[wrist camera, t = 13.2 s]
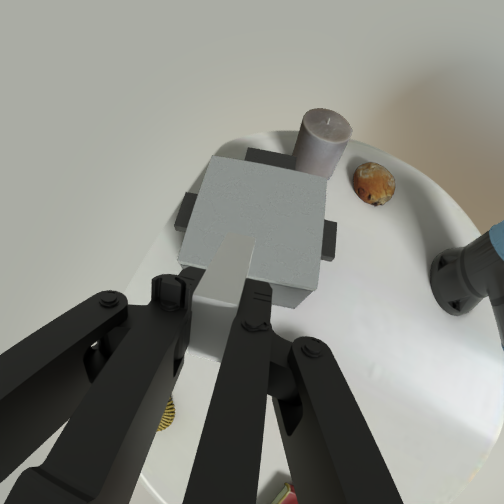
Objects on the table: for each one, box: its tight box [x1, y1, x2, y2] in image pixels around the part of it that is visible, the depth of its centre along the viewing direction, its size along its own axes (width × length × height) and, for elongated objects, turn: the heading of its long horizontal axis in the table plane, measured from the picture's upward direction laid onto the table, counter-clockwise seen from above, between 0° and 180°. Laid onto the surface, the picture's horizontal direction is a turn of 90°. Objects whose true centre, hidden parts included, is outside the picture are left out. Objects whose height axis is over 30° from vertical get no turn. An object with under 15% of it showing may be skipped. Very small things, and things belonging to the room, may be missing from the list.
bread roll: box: [353, 162, 395, 207], centre depth 58 cm, size 10×10×8 cm
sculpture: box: [156, 397, 175, 432], centre depth 39 cm, size 8×4×8 cm
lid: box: [177, 147, 327, 291], centre depth 41 cm, size 18×21×1 cm
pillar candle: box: [292, 108, 352, 180], centre depth 54 cm, size 10×10×15 cm
